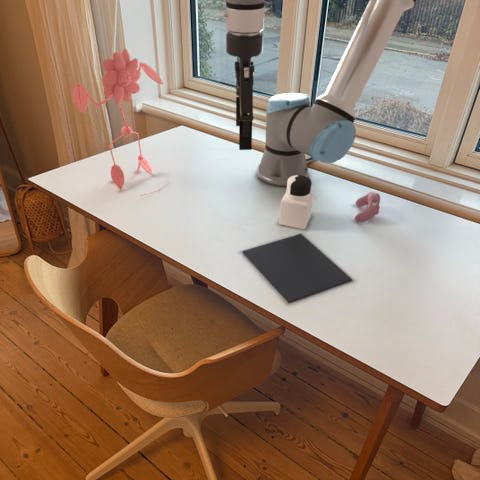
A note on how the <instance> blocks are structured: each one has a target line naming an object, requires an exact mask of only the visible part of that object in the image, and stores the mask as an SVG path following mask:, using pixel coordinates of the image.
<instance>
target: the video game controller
mask: <svg viewBox="0 0 480 480" xmlns="http://www.w3.org/2000/svg"><path fill="white" fill-rule="evenodd" d="M380 203H381V195H380V194H379V193H378V192H375V191H370V192H369V193H367V194H364V195H363V196H361V197H359V198H358V199H357V200H356V201H355V206H356V207H364V210H363V211H361V212H358V213H357V214H356V215H355V217H354V220H355V222H357V223H361V222H367V221H368V220H370V219H371V218H374V217H375V216H376V215H379V213H380V207H381V206H380Z"/></svg>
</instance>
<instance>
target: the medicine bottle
mask: <svg viewBox="0 0 480 480" xmlns="http://www.w3.org/2000/svg"><path fill="white" fill-rule="evenodd" d="M312 182H313V181H312V180H311V178H310V177H309V176H307V177H306V176H303V175H294V176H291V177H290V178H289V179H288V181H287V186H286V191H285V193H284V195H283V196H282V198H281V200H280V206H279V208H280V209H279V219H278V225H281V226H284V227H285V226H286V227H290V228H294V229H301V230H305V229H306V228H307V226H308V223H309V221H310V219H311V217H312V213H313V212H312V211H313V204H314V197H315V193H314V192H311V190H312V184H313V183H312Z"/></svg>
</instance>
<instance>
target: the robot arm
mask: <svg viewBox="0 0 480 480" xmlns="http://www.w3.org/2000/svg"><path fill="white" fill-rule="evenodd" d="M265 2H266V0H225V10H226V11H224V12H223V13H222V17H223V18H224V19H226V22H225V23H226V25H225V26H226V30H227V33H226V34H225V47H226V48H225V50H226V53H227V54H228V55H229V56H231V57H235V58H236V61H234V72H235V95H236V96H235V126H236V127H239V130H238V132H239V133H238V150H239V151H252V149H253V145H252V144H253V122H254V119H255V118H254V92H253V90H254V88H253V87H254V84H255V83H254V82H255V81H254V75H255V64H254V61H252V59H253V58H254V57H255V58H256V57H260V55H262V54H263V51H264V34H263V32H262V31H264V29H265V7H266V6H265V5H266V4H265ZM416 2H417V0H369V1H368V4H367V5H366V7H365V9H364V11H363V13H362V15H361V17H360V19H359V22H358V24H357V25H356V28H355V30H354V32H353V34H352V36H351V38H350V40H349V42H348V44H347V46H346V49H345V50H344V53H343V55H342V57H341V59H340V61H339V63H338V64H337V67H336V69H335V72H334V73H333V75H332V77H331V80H330V82H329V83H328V86H327V88H326V91H325V92H324V93H323V94H322V95H320V96H318V97H316V98H315V101H314V102H313V104H312V106H311V101H312V100H311V97H310V96H309V95H308V94H306V93H300V92H286V93H281V94H276V95H274V96H273V95H272V96H271V97H270V98H269V100H268V102H267V108H266V113H265V115H266V118H265V119H266V120H265V145H264V148H265V149H264V152H263V153H262V157H261V160H260V162H259V163H258V165H257V176H258V178H259V179H260V181H263V182H264V183H266V184H268V185H271V186H272V185H273V186H277V187H287V181H288V179H289V178H290V177H291V176H294V175H303V176H306V177H309V176H308V175H309V168H308V163H307V162H310V161H313V160H315V161H318V162H320V163H324V164H327V165H328V164H334V163H336V162H338V161H341V159H342V158H344V157H345V156H346V155H347V154H348V152H349V151H350V149H351V148H352V147H353V144H354V142H355V139H356V136H355V135H356V134H357V129H356V126H355V124H354V123H355V120H356V118H357V117H356V113H355V107H356V106H357V105H358V102H359V100H360V98H361V96H362V94H363V93H364V90H365V88H366V86H367V84H368V82H369V80H370V78H371V76H372V74H373V73H374V70H375V68H376V66H377V65H378V62H379V60H380V59H381V57H382V54H383V53H384V51H385V49H386V46H387V45H388V43H389V41H390V39H391V37H392V35H393V33H394V31H395V29H396V27H397V25H398V23H399V21H400V19H401V17H402V15H403V13H404V12H406V11H408V10H410V9H412V8H413V7H414V5H415V3H416ZM306 156H308V158H306Z"/></svg>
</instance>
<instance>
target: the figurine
mask: <svg viewBox="0 0 480 480" xmlns="http://www.w3.org/2000/svg"><path fill="white" fill-rule="evenodd" d="M102 67H103V69H104V70H105V73H104V75H103V76H102V78H101V82H102V84H103V85H104V87H103V95H104V97H105V99H103V100H102V101H101V102H98V101H96V100H95V98H93V97H92V96H91V95H90V94H89V92H87V89H85V87H84V86H83V85H81V83H80V82H76V85H75V86H73V88H72V92H71V98H72V101H73V104H74V106H75V107H76V109H77V110H78V111H79V112H80V113H81V114H83V113H84V112H85V111H86V109H87V107H88V105H89V99H90V100H91V101H92V102H93V103H94V104H95V105H96V106H97V107H100V106H101V105H103V104H105V103H107V102H109V100H111V99H112V98H113V99H114V102H115V104H116V105H118V109H119V112H120V115H121V117H122V120H123V122H124V125H123V126H122V128H121V135H120V136H119V137H117V138H115V139H114V140H112V141H111V142H110V143H109V144H108V147H109V151H110V155H111V159H112V162H113V165H112V166H111V168H110V178H111V180H112V183H113V184H114V185H115V186H116V187H117V189H118V190H119V191H121V190H122V188H123V186H124V184H125V173H124V171H123V169H122V168H121V166H120V165H118V164H116V161H115V158H114V154H113V150H112V147H111V146H112V145H113V144H114V143H115V142H117V141H118V140H119V139H121V138H122V137H123V136H124V137H130V136H131V135H132V134H134V135H136V136H137V142H138V148H139V154H138V156H137V160H138V164H137V169H136V173H137V174H138V173H139V172H140V167H141V168H142V169H143V170H144V171H145V172H146V173H147V174H149V175H154V173H153V170H152V168H151V165H150V163H149V161H148V160H147V159H146V158H145V157H144V156H143V155H142V149H141V142H140V135H139V132H135V131H133V130H132V128H131V127H130V126H129V125H128V124H127V121H126V120H127V119H126V118H125V115H124V111H123V108H122V105H121V104H122V102H123V101H125V102H126V103H129V102H130V101H131V99H132V95H135V94H138V93H139V92H140V89H141V87H140V85H139V83H137V81H139V79H140V78H141V69H142V71H144V73H145V74H146V75H147V76H148V77H149V78H150V79H151V80H152V81H153V82H154V83H158V84H160V85H164V82H163V80H162V79H161V77H160V76H159V74H158V73H157V72H156V70H155V69H154V68H153V67H152V66H150V65H148V64H147V63H146V62H145V63H144V62H141V61H140V62H139V60H138V58H136V57H135V58H132V59H131V55H130V53H129V51H128V49H127V48H124V49H122V51H121V53H119V52H117V51H116V52H113V54H112V58H105V59H103V61H102ZM167 184H169V182H167V183H166V184H165V185H164V186H162V187H161V188H159V189H157V190H155V191H152V192H150V193H145V194H141V195H139V196H140V197H142V196H143V197H144V196H147V195H150V194H153V193H156V192H159V191H161V190H163V189H164V188H165V187H166V186H167ZM94 188H96V190H97V187H96V186H94Z"/></svg>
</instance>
